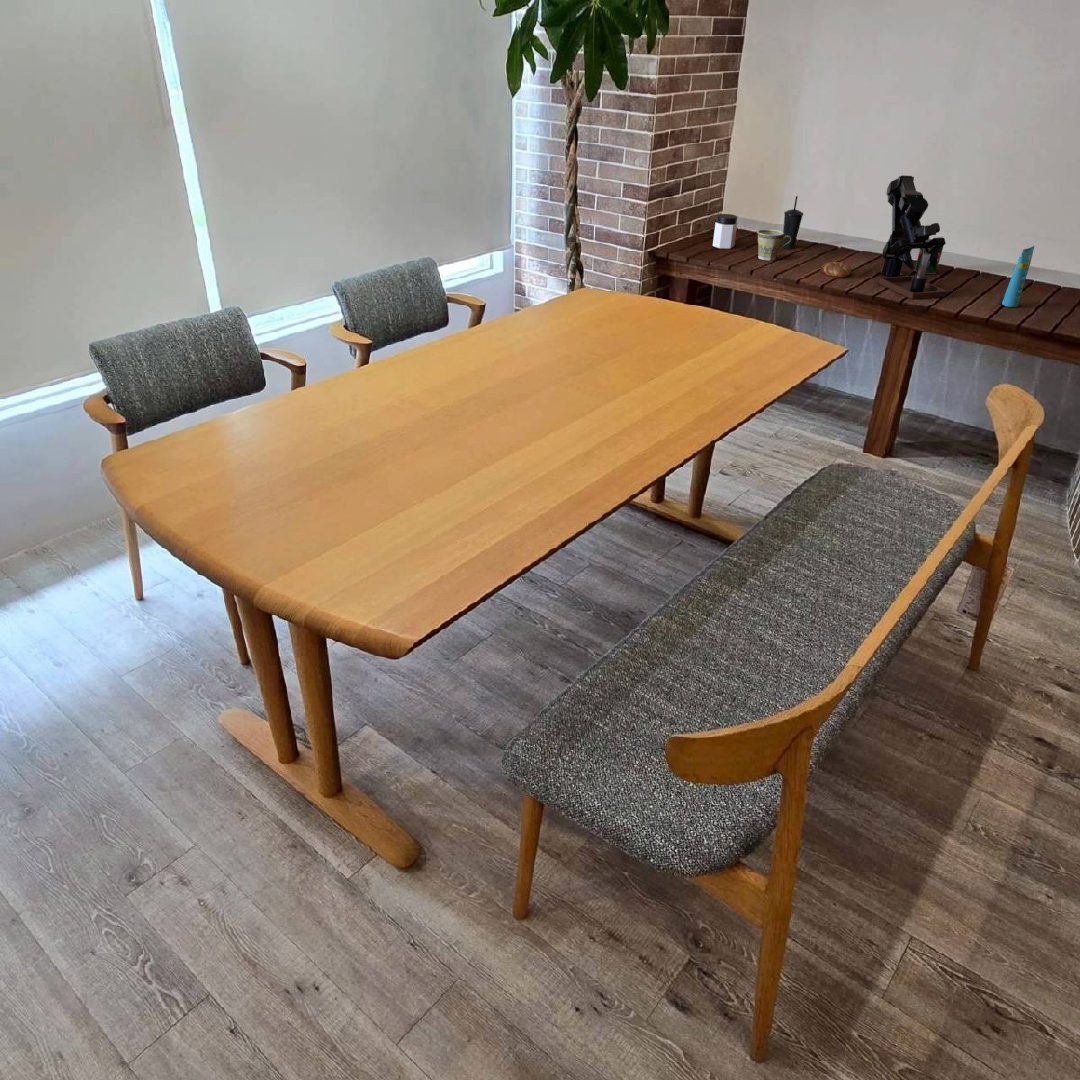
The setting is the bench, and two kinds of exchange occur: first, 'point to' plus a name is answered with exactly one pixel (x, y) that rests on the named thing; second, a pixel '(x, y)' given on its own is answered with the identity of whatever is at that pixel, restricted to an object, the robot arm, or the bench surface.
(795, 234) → the drinking cup
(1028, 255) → the tube
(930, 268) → the canned tomato
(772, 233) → the ceramic cup
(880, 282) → the tray
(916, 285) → the dark cylinder
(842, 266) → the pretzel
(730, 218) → the jar
